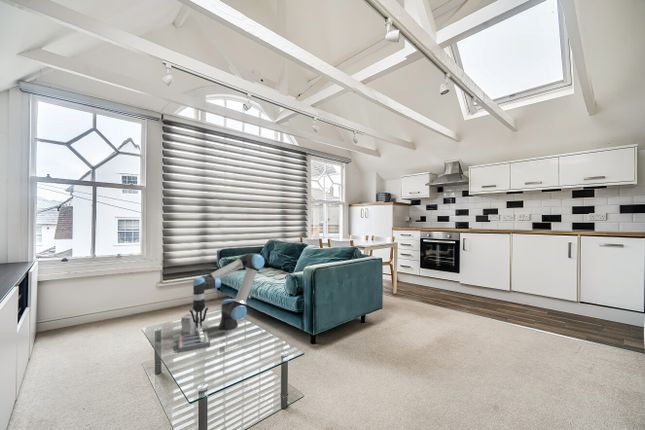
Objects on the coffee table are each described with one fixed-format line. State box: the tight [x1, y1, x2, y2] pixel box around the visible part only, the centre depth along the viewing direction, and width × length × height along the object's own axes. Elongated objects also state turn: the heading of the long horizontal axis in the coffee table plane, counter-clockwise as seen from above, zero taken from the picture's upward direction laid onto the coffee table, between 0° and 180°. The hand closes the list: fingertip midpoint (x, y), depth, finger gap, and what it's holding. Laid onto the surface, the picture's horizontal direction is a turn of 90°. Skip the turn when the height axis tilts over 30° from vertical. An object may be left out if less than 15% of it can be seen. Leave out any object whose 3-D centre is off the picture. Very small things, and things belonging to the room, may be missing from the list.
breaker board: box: [177, 331, 211, 353], centre depth 203 cm, size 20×22×3 cm
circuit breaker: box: [180, 313, 200, 336], centre depth 220 cm, size 8×14×15 cm, turn 174°
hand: (199, 331), depth 205 cm, fingers closed
